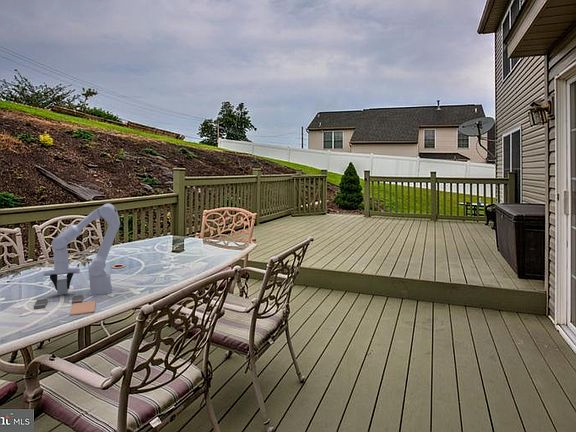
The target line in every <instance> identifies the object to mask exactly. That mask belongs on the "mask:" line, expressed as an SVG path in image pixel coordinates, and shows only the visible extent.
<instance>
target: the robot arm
mask: <svg viewBox="0 0 576 432" xmlns="http://www.w3.org/2000/svg"><path fill="white" fill-rule="evenodd" d="M118 214H119V213H118V210H117V208H116V207H115V206H114V205H113V204H112V203H104V204H103V205H102V206H100V207H98V208H96V209H94V210H93V211H91V212H90V213H89V214H87V216H85V217H84V218H83V219H82V220H81V221H79V222H78V223H77V224H71V225H68V226H66V229H65V230H63V231H62V232H60V233H58V234H57V236H56V237H54V238H53V239H52V241H51V242H50V243H51V247H52V249H53V268H54V270H53V269H52V270H44V271H43V272H42V276H43V277H49V279H50V281H51V282H52V283H53V285H54V288H55V291H57V281H58V276H60V275H66V279H67V289H68V290H70V286H71V281H72V279H73V276H74V274H80V272H81V270H80V268H69V267H70V266H69V252H68V245H69V243H71V242H73V241H74V240H75V239H77V238H78V237H79V236H80V235H82V230H83V229H84V228H86V227H87V226H89V224H91V223H92V222H93V221H95V220H100V219H101V218H102V219H104V220H105V222H106V223H107V225H108V227H107V230H106V232H105V234H104V237H103V239H102V241H101V244H100V247H99V249H98V251H97V253H96V256H95V258H94V260H93V261H92V263H91V264H90V266H89V267H88V273H89V292H88V296H98V295H106V294H112V293H111V292H112V288H113V287H112V282H111V281H112V280H111V279H112V278H111V273H107V271H105V268H106V265H107V264H106V260H107V257H108V255H109V252H110V250H111V249H112V246H113V243H114V240H115V238H116V235H117V232H118V231H119V228H120V225H121V221H120V220H121V219H120V217H119V215H118Z"/></svg>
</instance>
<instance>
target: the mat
mask: <svg viewBox="0 0 576 432" xmlns="http://www.w3.org/2000/svg"><path fill="white" fill-rule="evenodd" d="M96 303H97V301H96V300H91V301H84V302H82V303H74V304H73V305H72V304H71V309H70V312H69V316H70V317H71V316H79V315H85V314H93V313H95V311H96V305H97V304H96Z"/></svg>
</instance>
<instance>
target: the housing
mask: <svg viewBox="0 0 576 432" xmlns="http://www.w3.org/2000/svg"><path fill="white" fill-rule="evenodd" d="M83 301H84V294H74V295H73V297H72V299H71V306H72V305H73V304H74V303H82V302H83ZM48 303H49V298H47V297H46V298H38V299H36V301H35V302H34V304H33V310H39V309H45V308H46V307H47V304H48Z"/></svg>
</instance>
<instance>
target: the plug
mask: <svg viewBox="0 0 576 432" xmlns="http://www.w3.org/2000/svg"><path fill="white" fill-rule="evenodd" d="M68 293H69V289H67V278H64V279H63V278H62V279H57V290H56V294H57V295H65V294H68Z"/></svg>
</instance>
